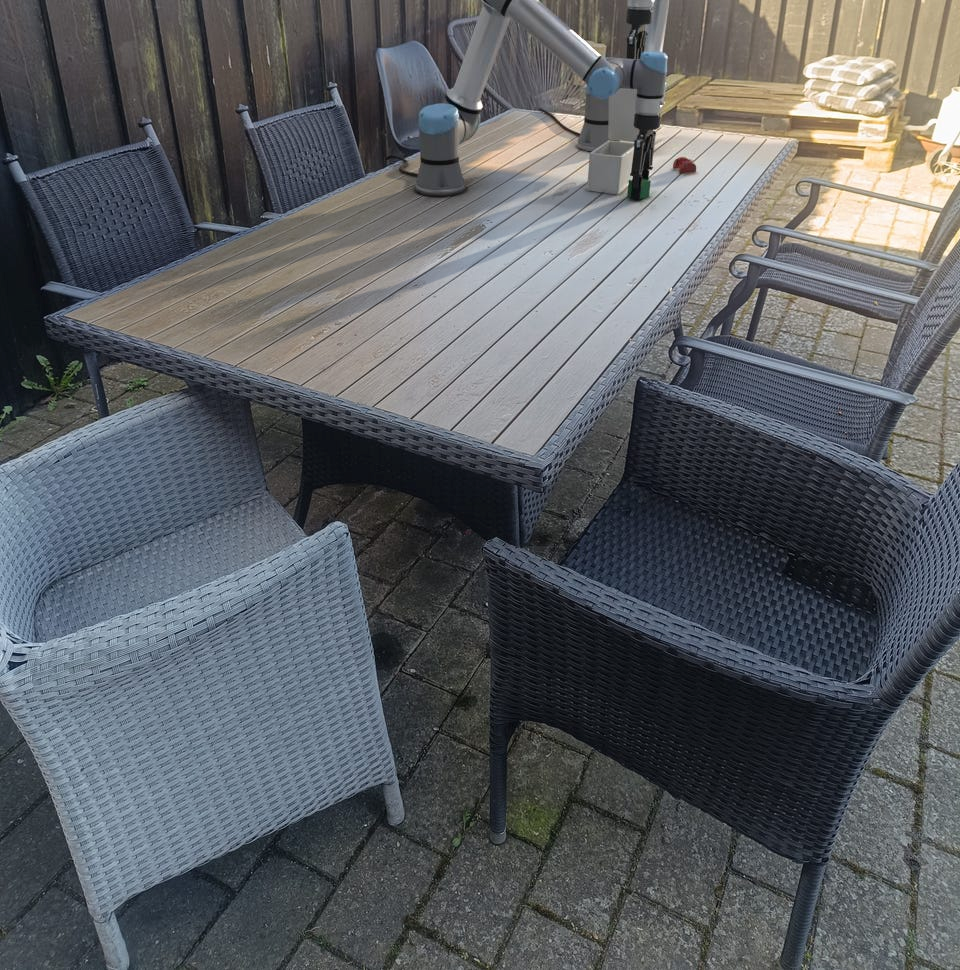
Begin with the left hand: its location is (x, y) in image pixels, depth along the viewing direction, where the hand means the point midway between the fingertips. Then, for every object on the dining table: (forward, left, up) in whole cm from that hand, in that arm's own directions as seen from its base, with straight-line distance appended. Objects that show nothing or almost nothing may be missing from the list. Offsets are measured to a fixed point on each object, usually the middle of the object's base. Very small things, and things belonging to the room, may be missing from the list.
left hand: (638, 195), depth 252 cm
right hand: (-16, +18, +23) cm, 33 cm away
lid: (-14, +12, +20) cm, 27 cm away
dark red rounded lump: (-3, +34, -1) cm, 34 cm away
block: (0, 0, 0) cm, 0 cm away
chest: (-13, +6, -1) cm, 14 cm away
